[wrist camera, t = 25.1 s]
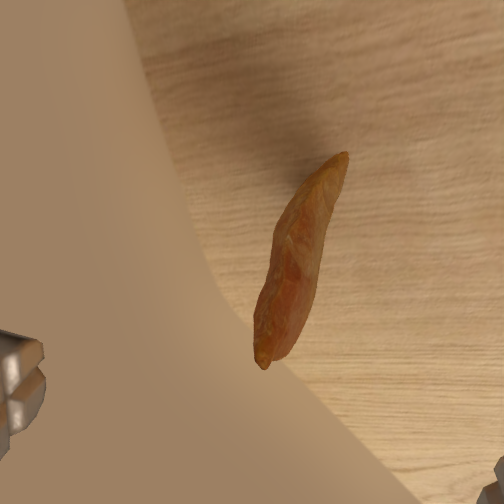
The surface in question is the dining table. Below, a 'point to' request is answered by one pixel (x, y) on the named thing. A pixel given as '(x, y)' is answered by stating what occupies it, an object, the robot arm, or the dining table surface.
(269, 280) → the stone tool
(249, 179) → the dining table surface
